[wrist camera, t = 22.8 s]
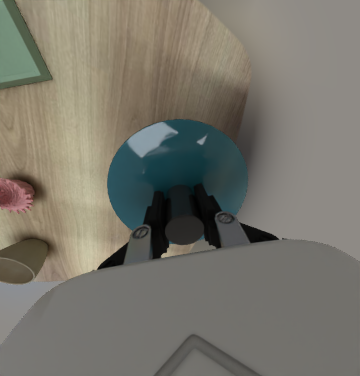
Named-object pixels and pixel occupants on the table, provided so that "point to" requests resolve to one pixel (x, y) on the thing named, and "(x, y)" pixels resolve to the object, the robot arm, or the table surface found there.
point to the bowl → (22, 261)
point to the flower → (15, 195)
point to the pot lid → (176, 175)
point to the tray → (18, 50)
